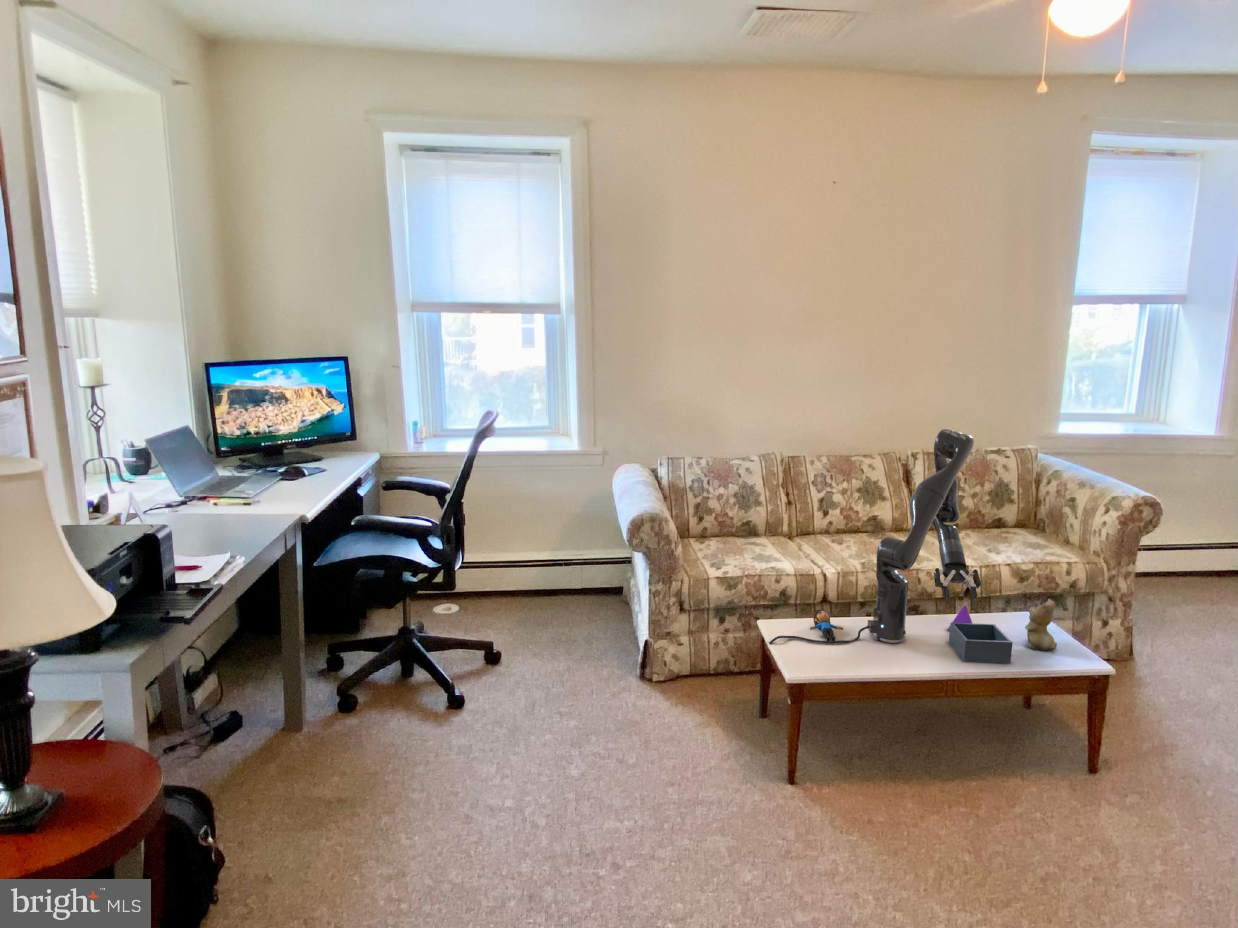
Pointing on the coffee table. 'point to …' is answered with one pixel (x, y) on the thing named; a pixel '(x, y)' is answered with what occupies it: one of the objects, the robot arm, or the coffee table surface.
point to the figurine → (1041, 627)
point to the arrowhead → (962, 617)
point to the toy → (824, 624)
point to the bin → (980, 643)
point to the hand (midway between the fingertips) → (960, 598)
